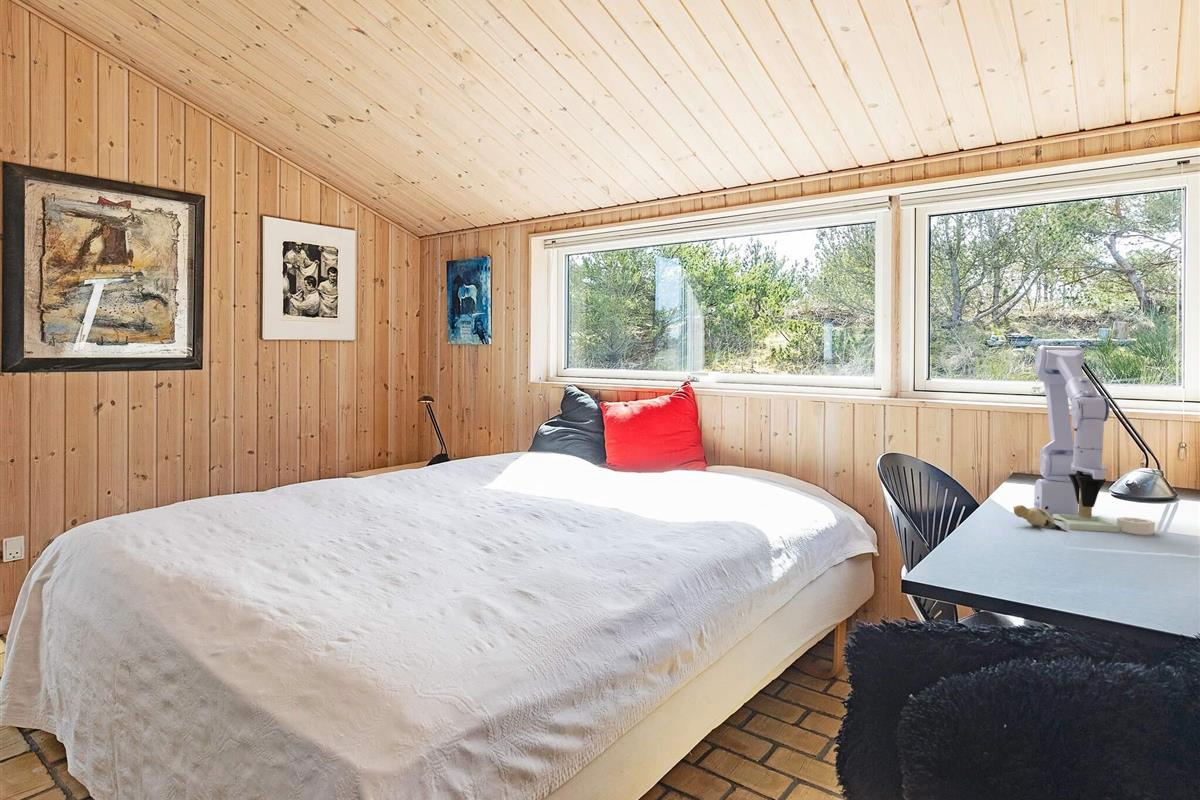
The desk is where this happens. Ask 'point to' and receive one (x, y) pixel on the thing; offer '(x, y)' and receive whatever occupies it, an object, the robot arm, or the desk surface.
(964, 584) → the desk surface
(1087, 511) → the dowel pin
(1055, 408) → the robot arm
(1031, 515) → the decorative bird model
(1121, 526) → the pin cup
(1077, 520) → the tray
